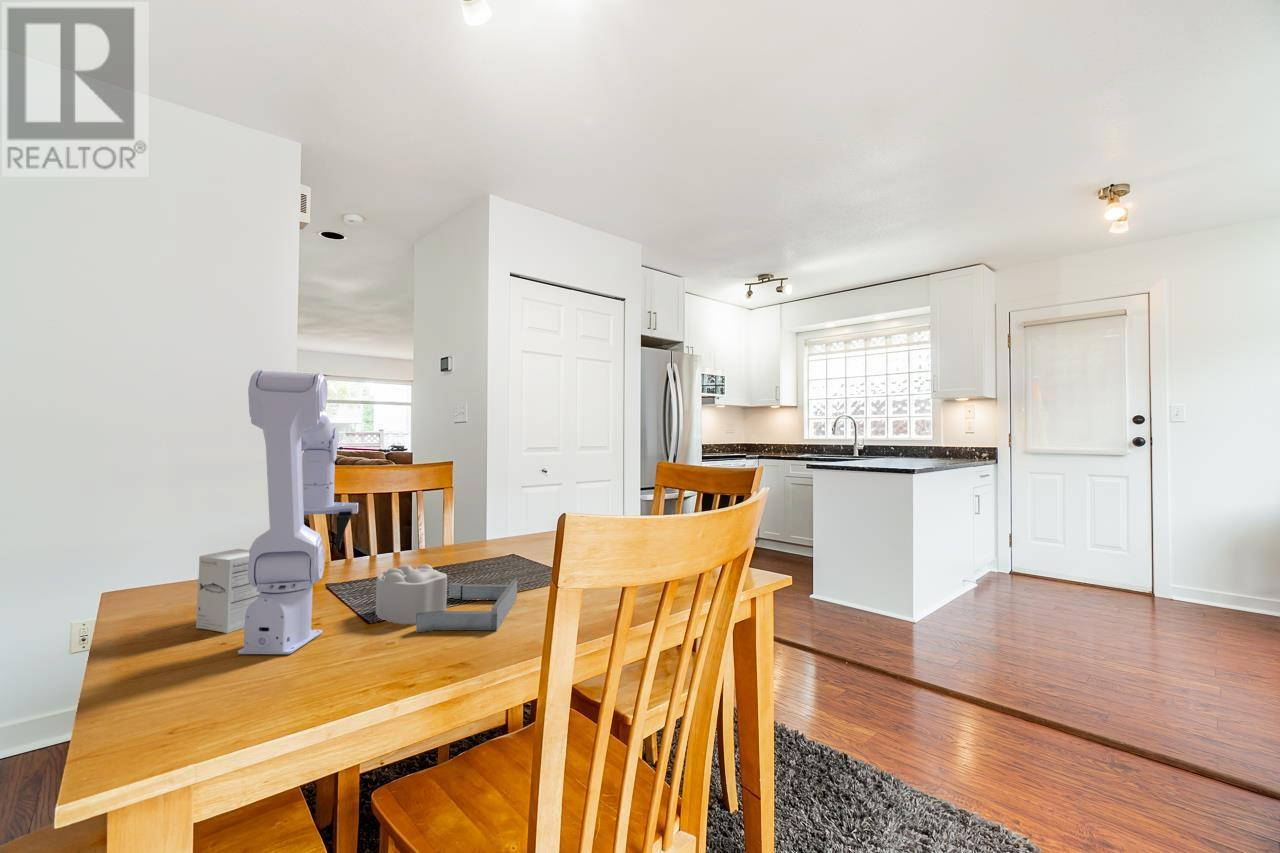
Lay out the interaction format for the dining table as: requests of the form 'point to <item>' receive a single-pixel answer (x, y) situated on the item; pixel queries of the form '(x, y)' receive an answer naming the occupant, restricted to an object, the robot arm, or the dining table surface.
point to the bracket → (471, 618)
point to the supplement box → (224, 591)
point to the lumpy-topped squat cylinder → (410, 593)
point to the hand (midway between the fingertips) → (316, 549)
